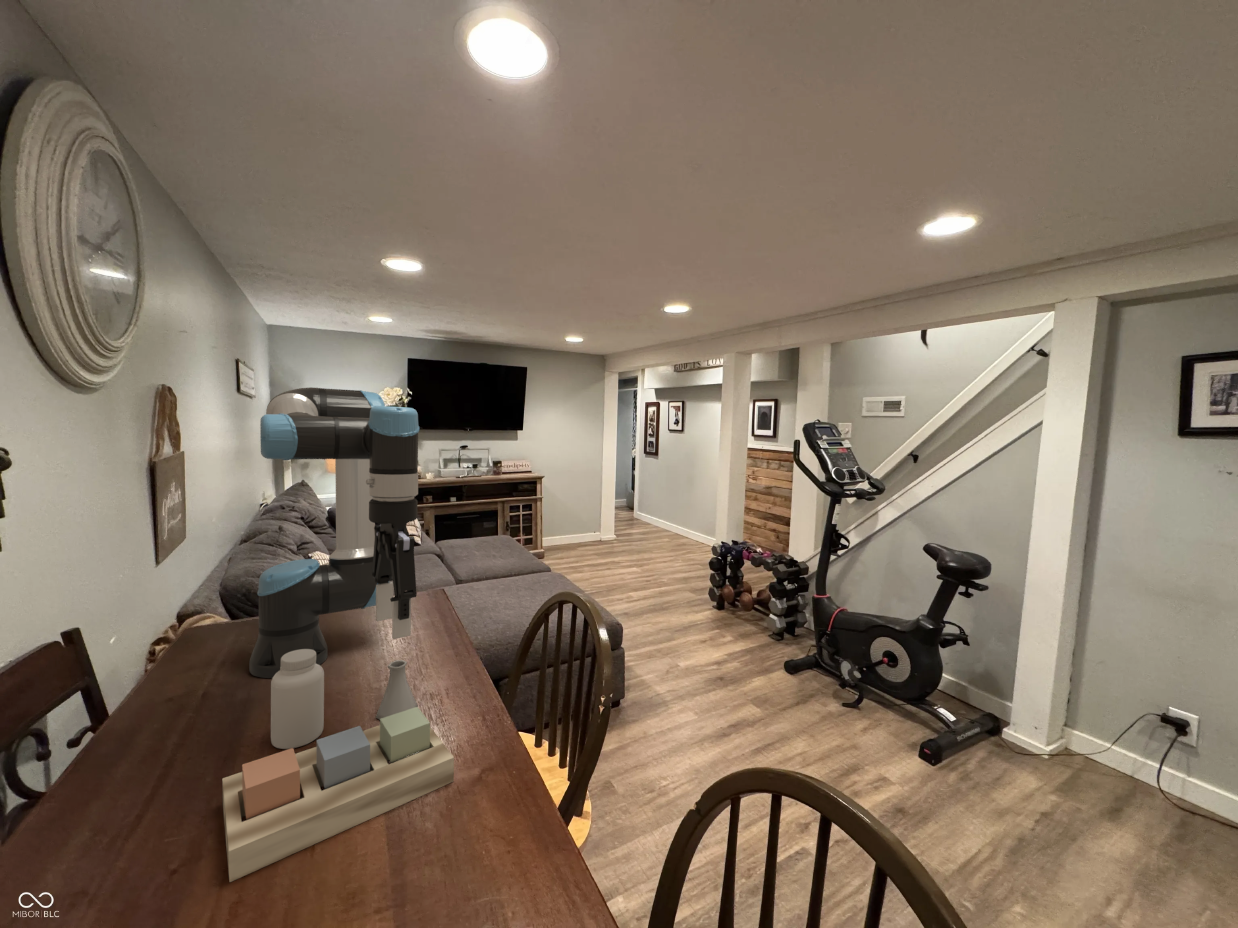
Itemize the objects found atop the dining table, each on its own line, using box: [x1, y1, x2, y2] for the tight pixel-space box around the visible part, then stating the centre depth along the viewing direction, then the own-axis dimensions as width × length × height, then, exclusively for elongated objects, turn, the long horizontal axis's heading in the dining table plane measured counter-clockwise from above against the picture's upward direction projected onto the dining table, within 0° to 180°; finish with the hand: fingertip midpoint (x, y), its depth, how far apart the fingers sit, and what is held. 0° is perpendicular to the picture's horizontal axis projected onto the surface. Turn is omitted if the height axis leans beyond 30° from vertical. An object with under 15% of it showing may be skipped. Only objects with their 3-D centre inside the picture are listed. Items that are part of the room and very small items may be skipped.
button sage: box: [379, 706, 431, 764], centre depth 80 cm, size 6×6×4 cm
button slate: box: [316, 725, 370, 789], centre depth 74 cm, size 6×6×4 cm
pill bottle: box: [270, 649, 325, 750], centre depth 87 cm, size 8×8×15 cm
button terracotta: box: [241, 748, 300, 820], centre depth 69 cm, size 6×6×4 cm
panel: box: [221, 724, 455, 883], centre depth 75 cm, size 16×28×4 cm, turn 131°
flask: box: [375, 659, 419, 720], centre depth 96 cm, size 7×7×10 cm
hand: (392, 627), depth 85 cm, fingers open, 9 cm apart
